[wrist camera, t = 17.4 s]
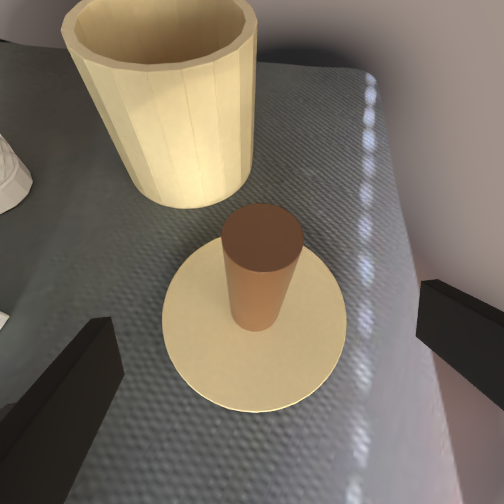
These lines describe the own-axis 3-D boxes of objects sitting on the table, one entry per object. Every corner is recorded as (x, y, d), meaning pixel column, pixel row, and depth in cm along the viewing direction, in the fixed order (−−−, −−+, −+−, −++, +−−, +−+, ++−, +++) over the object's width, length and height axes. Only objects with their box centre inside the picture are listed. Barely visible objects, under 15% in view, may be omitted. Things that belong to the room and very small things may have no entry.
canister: (106, 159, 30) (25, 13, 19) (198, 107, 34) (177, -35, 23) (182, 232, 26) (136, 99, 15) (276, 162, 30) (295, 21, 19)
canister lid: (129, 312, 22) (37, 233, 12) (253, 212, 27) (258, 99, 17) (256, 464, 18) (271, 535, 8) (376, 312, 22) (479, 236, 13)
